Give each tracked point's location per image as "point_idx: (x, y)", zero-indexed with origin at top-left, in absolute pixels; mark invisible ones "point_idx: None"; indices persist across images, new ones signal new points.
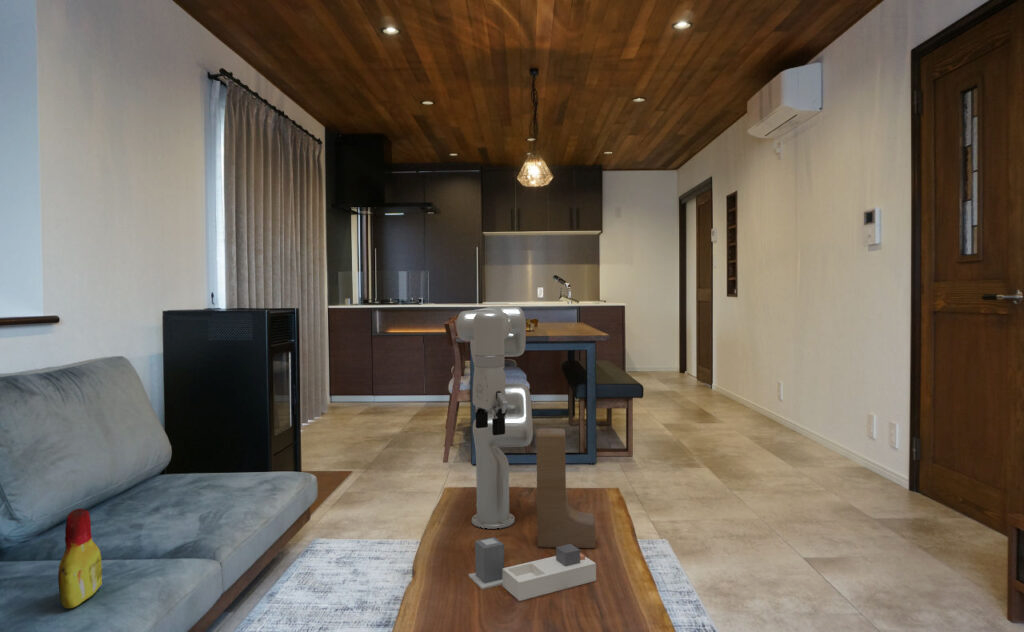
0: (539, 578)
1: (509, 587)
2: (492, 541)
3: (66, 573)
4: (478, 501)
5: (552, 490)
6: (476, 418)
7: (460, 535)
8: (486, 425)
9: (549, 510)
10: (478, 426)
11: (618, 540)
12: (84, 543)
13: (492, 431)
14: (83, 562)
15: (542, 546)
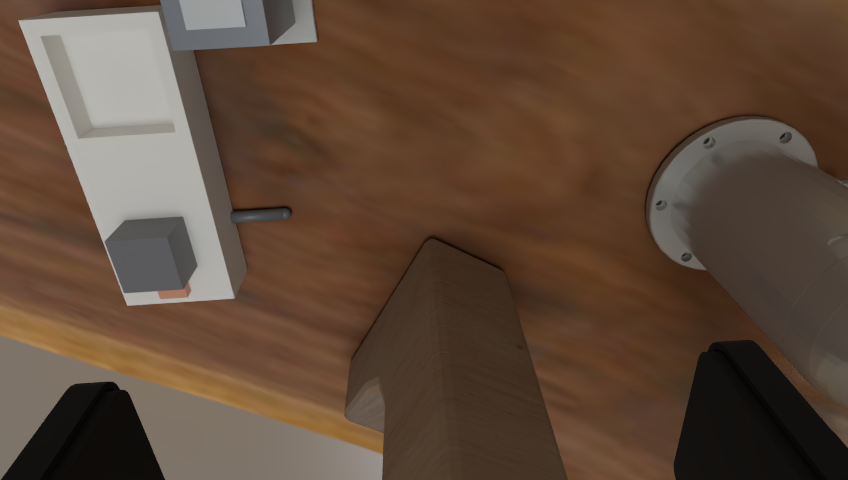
0: (54, 106)
1: (120, 9)
2: (208, 11)
3: None
4: (792, 170)
5: (404, 409)
6: (817, 471)
7: (688, 28)
8: (683, 477)
9: (411, 341)
10: (709, 376)
11: (378, 431)
12: None
13: (81, 415)
14: None
15: (421, 248)
